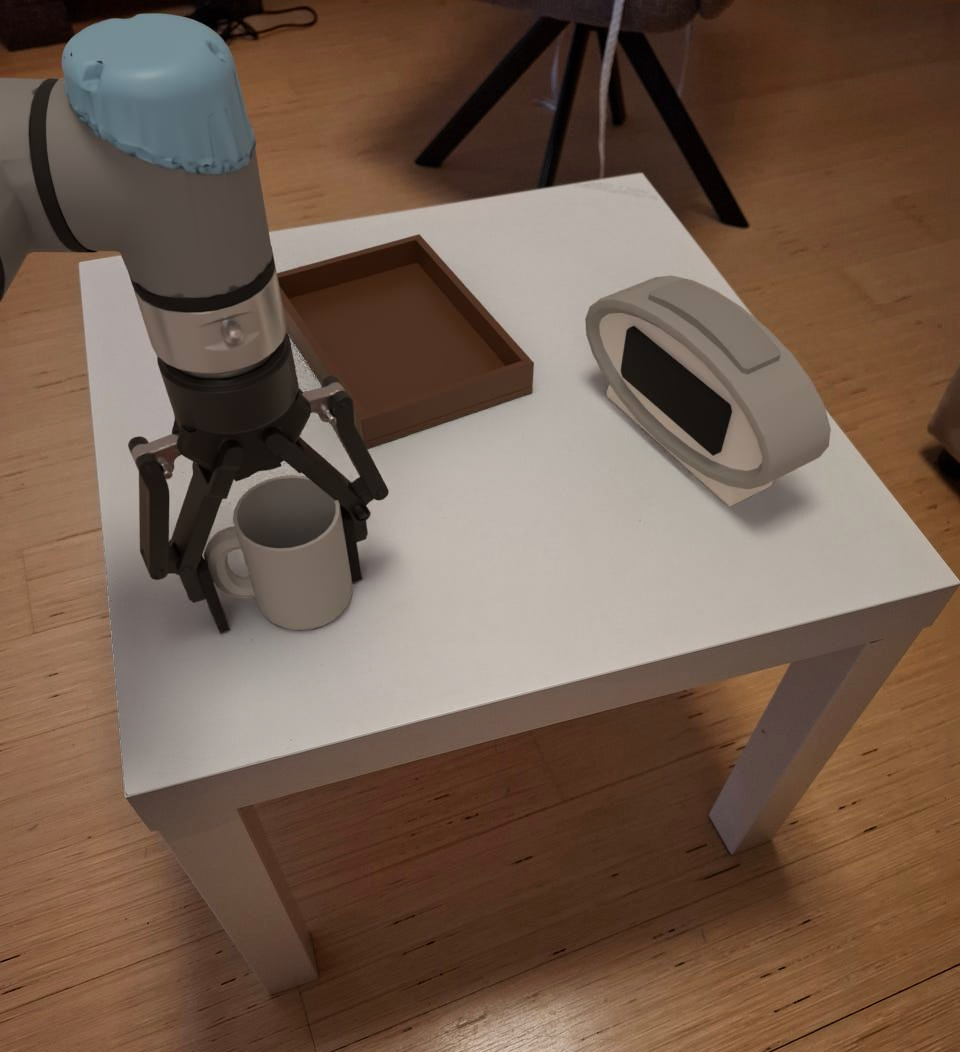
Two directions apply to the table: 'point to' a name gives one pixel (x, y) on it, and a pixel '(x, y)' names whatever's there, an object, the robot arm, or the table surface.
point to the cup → (286, 553)
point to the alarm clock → (708, 384)
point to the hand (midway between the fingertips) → (286, 593)
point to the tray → (401, 338)
